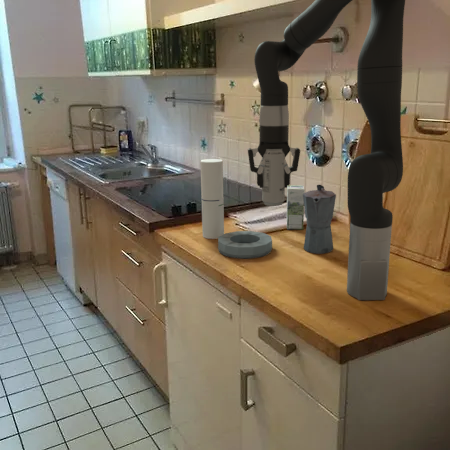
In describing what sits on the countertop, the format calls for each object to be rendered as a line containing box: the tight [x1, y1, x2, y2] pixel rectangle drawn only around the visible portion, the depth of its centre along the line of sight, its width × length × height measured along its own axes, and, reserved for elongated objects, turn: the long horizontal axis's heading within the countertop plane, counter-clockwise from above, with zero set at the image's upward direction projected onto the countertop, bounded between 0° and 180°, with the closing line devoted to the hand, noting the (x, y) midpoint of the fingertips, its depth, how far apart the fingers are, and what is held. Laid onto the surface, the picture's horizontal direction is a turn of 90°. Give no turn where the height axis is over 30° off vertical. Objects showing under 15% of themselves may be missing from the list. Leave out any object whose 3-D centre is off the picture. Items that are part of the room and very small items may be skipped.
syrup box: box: [286, 185, 306, 230], centre depth 171 cm, size 6×6×14 cm
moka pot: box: [303, 184, 337, 255], centre depth 149 cm, size 10×15×20 cm, turn 166°
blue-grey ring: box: [217, 230, 273, 260], centre depth 151 cm, size 16×16×4 cm
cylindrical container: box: [200, 158, 225, 240], centre depth 163 cm, size 7×7×25 cm
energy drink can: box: [261, 149, 286, 207], centre depth 133 cm, size 6×6×15 cm
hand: (273, 187), depth 134 cm, fingers closed on energy drink can, 6 cm apart
